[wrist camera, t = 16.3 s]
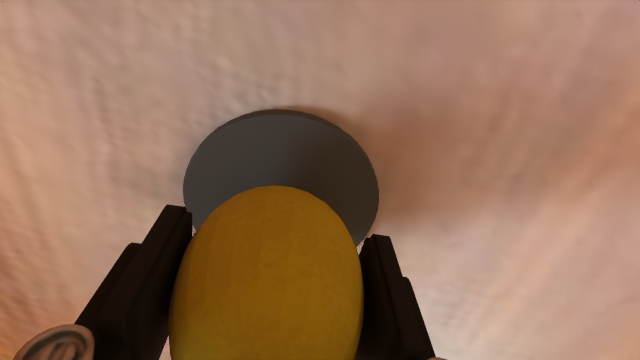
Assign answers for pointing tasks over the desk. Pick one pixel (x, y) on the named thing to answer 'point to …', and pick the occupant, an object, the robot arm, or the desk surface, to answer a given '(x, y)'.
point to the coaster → (283, 166)
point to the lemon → (268, 282)
